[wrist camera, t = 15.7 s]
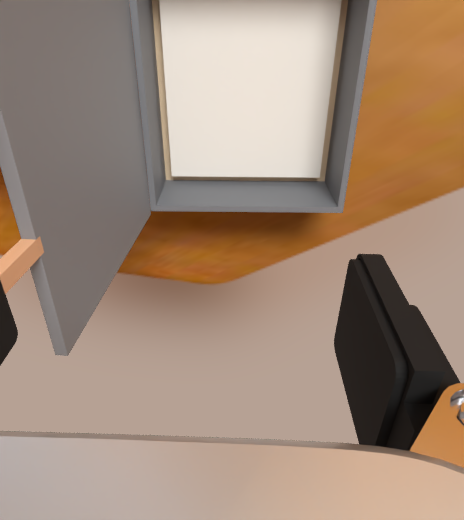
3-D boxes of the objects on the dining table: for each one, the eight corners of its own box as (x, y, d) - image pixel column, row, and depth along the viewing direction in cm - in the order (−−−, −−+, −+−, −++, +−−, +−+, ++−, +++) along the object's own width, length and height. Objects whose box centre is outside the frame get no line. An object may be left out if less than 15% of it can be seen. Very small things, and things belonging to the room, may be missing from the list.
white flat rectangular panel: (344, -48, 38) (347, -49, 37) (317, 173, 49) (319, 177, 48) (157, -50, 38) (155, -51, 37) (173, 172, 49) (171, 176, 48)
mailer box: (362, -67, 38) (390, -83, 31) (327, 184, 50) (342, 212, 44) (140, -69, 38) (120, -85, 31) (162, 182, 50) (150, 211, 44)
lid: (-397, -395, 7) (-500, -388, 7) (4, 463, 20) (-35, 459, 20) (119, -91, 31) (92, -90, 31) (150, 214, 44) (132, 213, 44)
